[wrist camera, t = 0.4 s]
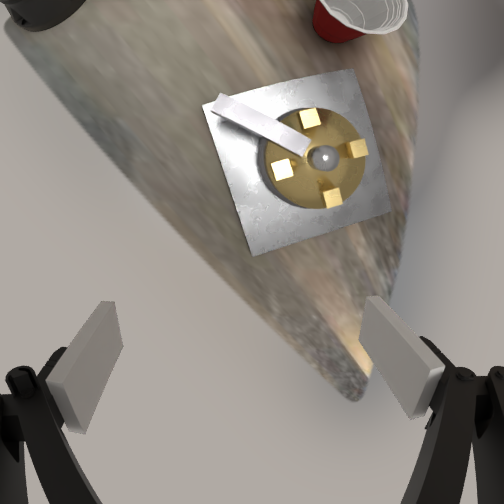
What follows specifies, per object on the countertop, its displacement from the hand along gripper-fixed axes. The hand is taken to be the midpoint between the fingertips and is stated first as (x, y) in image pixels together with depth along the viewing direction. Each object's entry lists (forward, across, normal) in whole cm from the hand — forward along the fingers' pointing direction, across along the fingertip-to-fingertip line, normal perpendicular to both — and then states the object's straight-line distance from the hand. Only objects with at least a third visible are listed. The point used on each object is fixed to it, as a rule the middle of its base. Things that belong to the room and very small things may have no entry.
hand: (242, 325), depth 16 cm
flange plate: (+26, +9, +8) cm, 29 cm away
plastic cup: (+27, +13, +27) cm, 40 cm away
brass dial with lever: (+22, +6, +10) cm, 25 cm away
